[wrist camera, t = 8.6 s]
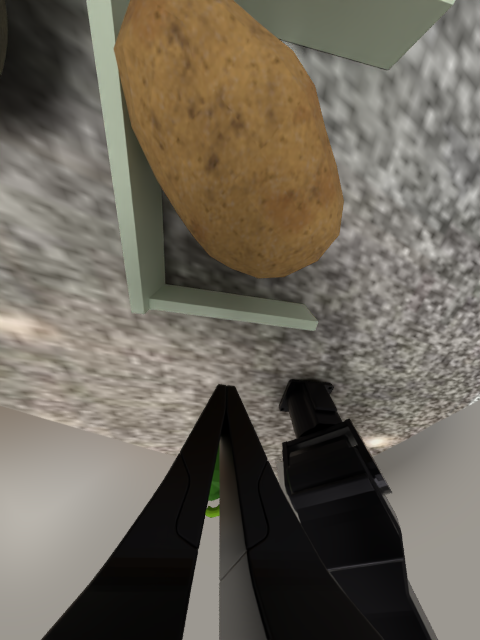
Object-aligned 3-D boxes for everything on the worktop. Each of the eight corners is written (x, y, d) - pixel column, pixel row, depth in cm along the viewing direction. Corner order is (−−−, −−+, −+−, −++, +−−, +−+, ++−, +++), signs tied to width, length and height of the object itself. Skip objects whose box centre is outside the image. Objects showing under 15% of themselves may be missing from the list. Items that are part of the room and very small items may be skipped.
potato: (217, 11, 11) (178, -408, 4) (335, 211, 16) (416, 202, 9) (130, 159, 14) (19, 92, 7) (252, 286, 19) (261, 324, 12)
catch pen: (301, 312, 20) (319, 336, 16) (156, 291, 19) (131, 312, 14) (397, 46, 11) (499, -68, 7) (134, -33, 10) (51, -241, 5)
